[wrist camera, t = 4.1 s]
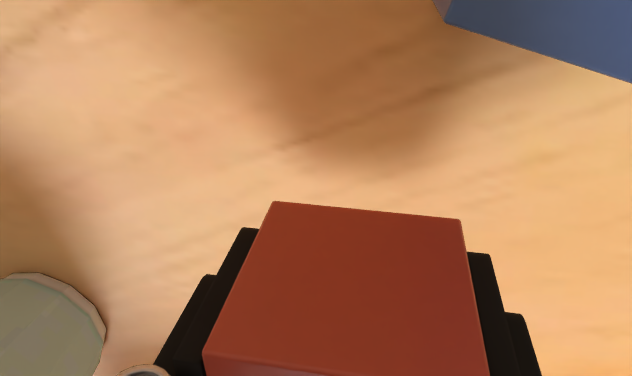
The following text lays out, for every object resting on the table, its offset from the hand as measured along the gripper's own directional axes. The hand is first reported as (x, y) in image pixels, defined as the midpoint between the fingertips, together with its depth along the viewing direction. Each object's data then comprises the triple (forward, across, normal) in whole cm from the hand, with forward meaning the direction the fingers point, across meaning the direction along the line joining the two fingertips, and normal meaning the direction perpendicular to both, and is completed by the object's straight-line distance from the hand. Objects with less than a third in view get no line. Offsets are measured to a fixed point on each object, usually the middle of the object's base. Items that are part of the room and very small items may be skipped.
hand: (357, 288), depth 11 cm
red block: (0, 0, 0) cm, 0 cm away
